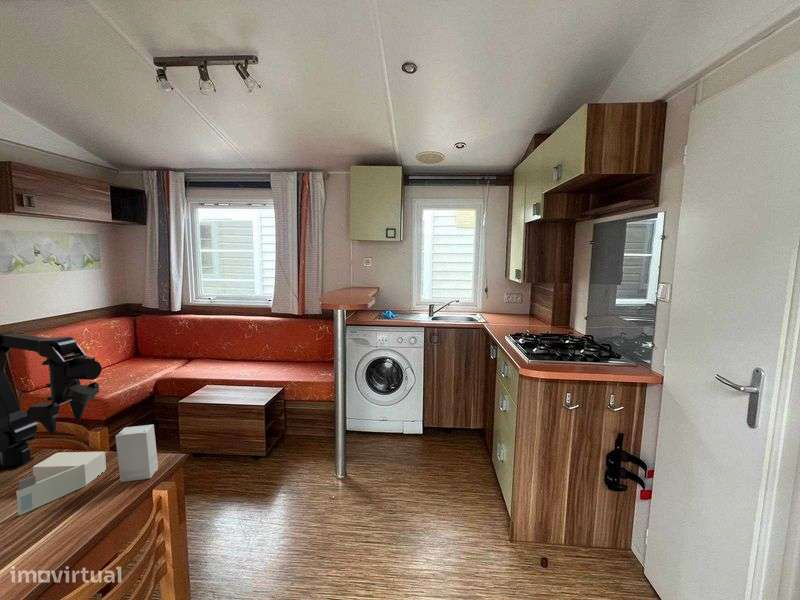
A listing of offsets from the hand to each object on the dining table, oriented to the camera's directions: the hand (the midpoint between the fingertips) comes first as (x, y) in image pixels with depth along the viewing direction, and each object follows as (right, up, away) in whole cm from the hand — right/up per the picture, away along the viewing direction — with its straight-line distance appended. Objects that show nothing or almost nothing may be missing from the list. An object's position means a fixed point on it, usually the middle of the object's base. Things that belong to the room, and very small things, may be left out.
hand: (66, 427), depth 113 cm
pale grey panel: (+11, -14, -15) cm, 23 cm away
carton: (+6, -14, -5) cm, 16 cm away
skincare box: (+25, -14, -3) cm, 29 cm away
